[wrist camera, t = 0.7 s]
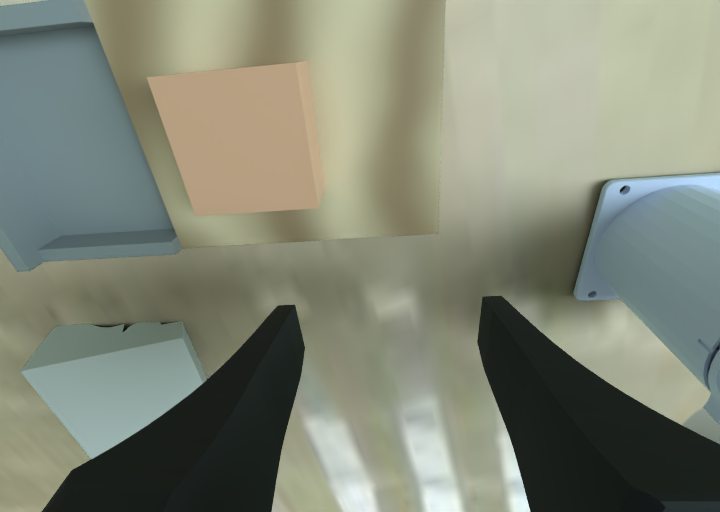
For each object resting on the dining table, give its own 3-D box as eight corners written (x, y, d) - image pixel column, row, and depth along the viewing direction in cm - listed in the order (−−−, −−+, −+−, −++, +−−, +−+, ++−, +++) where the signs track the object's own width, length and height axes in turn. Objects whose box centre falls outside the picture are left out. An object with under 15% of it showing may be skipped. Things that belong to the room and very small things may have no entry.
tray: (107, 3, 16) (51, -6, 13) (193, 236, 22) (167, 263, 19) (-71, 24, 17) (-158, 19, 14) (60, 244, 23) (17, 271, 20)
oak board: (440, -36, 15) (447, -44, 14) (434, 221, 21) (438, 233, 20) (107, 3, 16) (84, -1, 15) (193, 236, 22) (182, 248, 21)
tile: (306, 60, 16) (295, 62, 13) (325, 189, 19) (318, 208, 16) (177, 73, 16) (146, 77, 14) (215, 197, 19) (195, 216, 17)
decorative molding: (194, 297, 28) (56, 323, 27) (182, 337, 24) (19, 371, 23) (276, 506, 46) (196, 530, 44) (277, 550, 42) (189, 578, 40)
